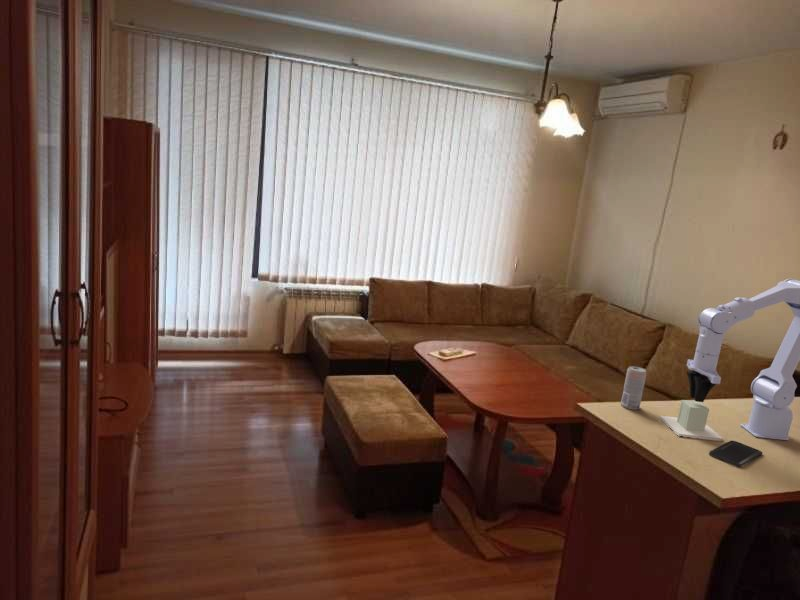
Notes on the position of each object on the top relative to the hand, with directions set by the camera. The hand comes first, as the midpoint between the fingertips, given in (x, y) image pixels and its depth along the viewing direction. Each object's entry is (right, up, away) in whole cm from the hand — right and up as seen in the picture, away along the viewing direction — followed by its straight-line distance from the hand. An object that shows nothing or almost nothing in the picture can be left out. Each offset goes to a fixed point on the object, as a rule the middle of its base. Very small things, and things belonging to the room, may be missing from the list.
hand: (696, 399), depth 160 cm
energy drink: (-13, -5, +15) cm, 20 cm away
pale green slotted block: (-1, -8, +2) cm, 8 cm away
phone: (+4, -13, -11) cm, 17 cm away
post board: (-1, -9, +2) cm, 9 cm away
